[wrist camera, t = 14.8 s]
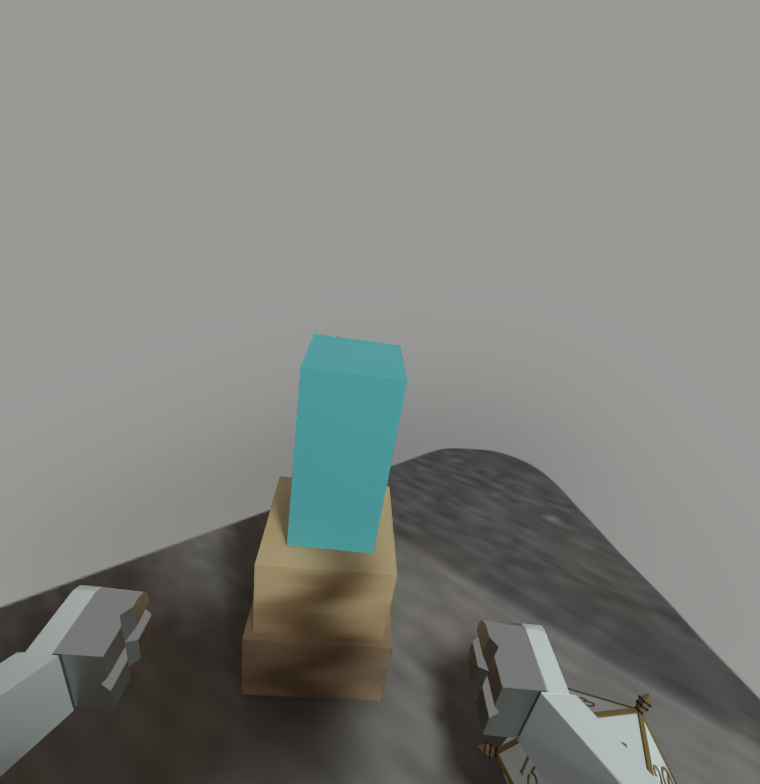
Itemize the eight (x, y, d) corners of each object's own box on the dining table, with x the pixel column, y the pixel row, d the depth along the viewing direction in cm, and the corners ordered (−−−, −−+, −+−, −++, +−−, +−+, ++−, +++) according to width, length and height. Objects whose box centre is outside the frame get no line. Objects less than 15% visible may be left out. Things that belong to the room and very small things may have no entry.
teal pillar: (286, 545, 22) (300, 367, 18) (299, 489, 26) (313, 333, 22) (373, 553, 22) (407, 381, 18) (372, 497, 26) (400, 345, 22)
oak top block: (253, 633, 23) (254, 565, 20) (277, 536, 29) (280, 476, 27) (382, 640, 23) (397, 575, 21) (378, 544, 30) (389, 486, 27)
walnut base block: (242, 696, 24) (241, 639, 22) (270, 580, 32) (272, 529, 29) (380, 702, 25) (392, 648, 23) (376, 588, 32) (386, 538, 30)
